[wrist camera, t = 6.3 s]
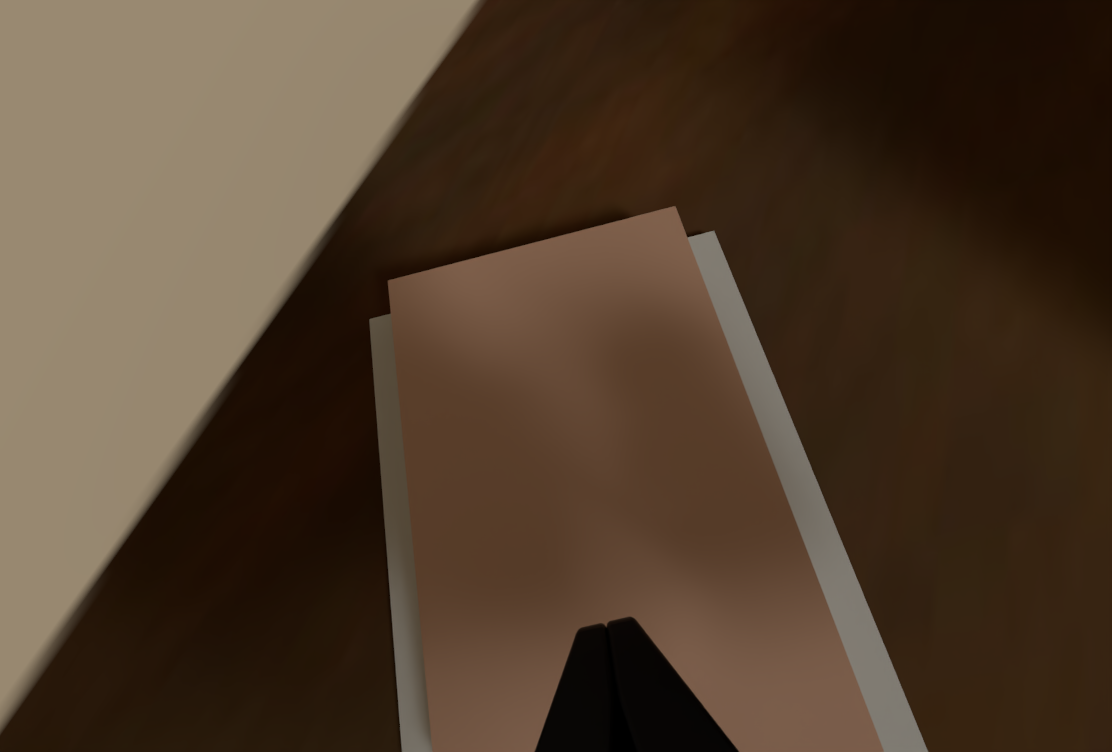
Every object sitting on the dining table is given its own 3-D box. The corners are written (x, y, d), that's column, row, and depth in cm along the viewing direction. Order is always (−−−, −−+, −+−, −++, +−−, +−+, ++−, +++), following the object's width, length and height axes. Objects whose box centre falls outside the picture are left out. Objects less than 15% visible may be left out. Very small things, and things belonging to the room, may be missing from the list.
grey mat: (432, 1035, 12) (424, 1052, 12) (375, 325, 19) (369, 319, 19) (989, 924, 11) (1004, 937, 11) (712, 239, 19) (714, 230, 18)
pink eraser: (441, 846, 11) (387, 280, 17) (468, 813, 13) (412, 312, 19) (883, 751, 11) (675, 206, 17) (849, 731, 13) (671, 246, 18)
